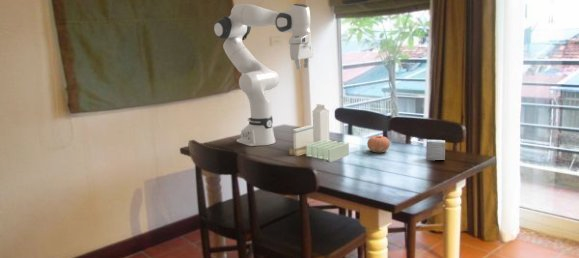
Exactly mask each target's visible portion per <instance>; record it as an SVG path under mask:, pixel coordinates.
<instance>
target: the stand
mask: <svg viewBox="0 0 579 258" xmlns="http://www.w3.org/2000/svg"><path fill="white" fill-rule="evenodd" d="M304 154H305V155H306V146H303V147H300V148H296V149H295V154H294V146H292V147H289V155H291V156H295V157H296V156H297V157H298V156H301V155H304Z"/></svg>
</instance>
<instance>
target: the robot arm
mask: <svg viewBox="0 0 579 258" xmlns="http://www.w3.org/2000/svg"><path fill="white" fill-rule="evenodd" d="M273 25H274V26H275V28H276V29H277V31H278V32H280V33H291V34H292V35H291V37H290V38H289V39H288V44H289V54H290V55H289V56H290V59H291V60H292V61H294V62H295V65H296V66H295V67H296V70H299V71H300V70H301V69H302V65H301V60H303V62H304V63H303V68H304V69H306V68H309V61H310V58H312V57H313V54H314V53H313V45H312V34H311V33H312V31H311V12H310V7H309V6H308V5H306V4H303V3H294V4H292V5H291V7H290V8H289V9H286V10H284V11H282V12H280V11H279V12H278V11H275V10H271V9H268V8H264V7H261V6H258V5H255V4H252V3H251V4H249V3H238V4H235V5H234V6H233V7H232V9H231V11H230V15H229V16H226V15H224V16H223V17H221V18H219V19H218V20H216V21H215V23H214V24H213V32H214V35H215V37H216V38H218V39H220V40H225V41H224V43H223V45H222V46H223V47H222V48H223V50H224V52H225V54H226V56H227V58H228V60H230V62H231V63H232V65H233V66H234V67H235V69H237V71H238V72H239V73H241V74H242V75H240V77H239V80H238V86H239V89H240V90H241V91H242V92H244V94H245V95H246V97H247V99H248V102H249V108H250V117H249V118H247V120H248V124H247V125H245V127H243V128H242V130H241V131H240V138H237V139H236V142H237V143H239V144H242V145H246V146H249V147H254V146H268V145H273V144H275V143H276V137H275V133H274V132H275V131H274V126H273V116H272V102H271V101H270V100H269V99H268V98H267V97H266V94H265V92H266V91H270V90H272V89H275V88H276V87H277V86H278V85H279V83H280V77H279V74H278V73H277V71H275V70H272V69H270V68H269V67H267V66H266V65H264V64H263V63H261V62H260V61H259V60H257V58H256V57H255V56H253V54H252V52H251V51H250V50H249V49H248V48H247V46H245V45H244V42H243V41H245V40H247V38H248V35H250V32H251V29H252V27H253V28H257V27H264V26H273Z"/></svg>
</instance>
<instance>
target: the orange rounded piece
mask: <svg viewBox="0 0 579 258" xmlns="http://www.w3.org/2000/svg"><path fill="white" fill-rule="evenodd" d="M366 144H367V148H368V149H369V151H371V152H373V153H380V154H381V153H384V152H386V151H388V150H389V149H390V145H391V143H390V140H389V139H388V138H387V137H386V136H382V135H375V136H374V135H373V136H371V137H370V138H369V139H368V141H367V143H366Z"/></svg>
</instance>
